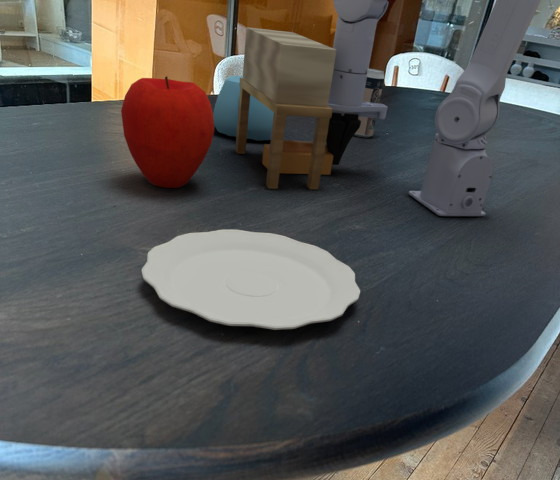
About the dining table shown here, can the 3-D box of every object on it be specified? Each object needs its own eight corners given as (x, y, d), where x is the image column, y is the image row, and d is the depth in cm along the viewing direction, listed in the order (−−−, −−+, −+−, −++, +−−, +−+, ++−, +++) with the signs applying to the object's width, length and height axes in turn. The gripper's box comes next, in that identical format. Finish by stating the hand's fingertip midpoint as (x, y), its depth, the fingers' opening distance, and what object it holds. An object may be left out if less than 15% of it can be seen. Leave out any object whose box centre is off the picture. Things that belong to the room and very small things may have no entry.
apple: (199, 170, 87) (203, 70, 80) (221, 197, 78) (229, 88, 71) (117, 169, 83) (114, 64, 75) (131, 198, 74) (129, 82, 67)
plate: (342, 253, 68) (344, 240, 67) (370, 352, 51) (375, 336, 50) (159, 235, 66) (159, 220, 65) (125, 331, 49) (124, 313, 48)
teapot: (295, 69, 111) (281, 82, 96) (287, 128, 117) (273, 149, 102) (230, 58, 112) (206, 70, 97) (226, 118, 118) (203, 138, 103)
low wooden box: (330, 174, 94) (335, 147, 91) (271, 173, 91) (274, 144, 88) (319, 165, 98) (323, 138, 95) (261, 163, 94) (264, 135, 92)
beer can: (372, 139, 118) (385, 73, 111) (348, 135, 119) (360, 69, 112) (373, 134, 122) (386, 70, 115) (351, 130, 123) (362, 67, 116)
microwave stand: (322, 190, 87) (344, 51, 76) (268, 189, 84) (284, 45, 74) (281, 152, 101) (295, 32, 91) (234, 150, 99) (243, 26, 88)
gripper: (380, 69, 93) (362, 157, 101) (294, 61, 88) (283, 154, 96) (400, 78, 87) (380, 170, 95) (310, 70, 83) (297, 167, 90)
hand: (332, 163), depth 95 cm, fingers closed
